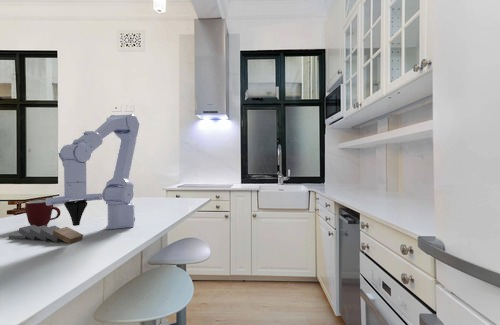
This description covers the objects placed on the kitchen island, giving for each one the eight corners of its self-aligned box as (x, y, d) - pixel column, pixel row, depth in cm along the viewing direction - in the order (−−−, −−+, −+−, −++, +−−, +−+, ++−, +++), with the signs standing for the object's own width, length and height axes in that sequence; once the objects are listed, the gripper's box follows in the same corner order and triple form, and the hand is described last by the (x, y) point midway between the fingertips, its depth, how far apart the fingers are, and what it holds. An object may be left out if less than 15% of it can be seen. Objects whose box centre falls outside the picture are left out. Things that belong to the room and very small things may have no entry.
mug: (61, 222, 103) (61, 198, 102) (59, 227, 96) (59, 201, 96) (28, 226, 97) (27, 201, 97) (23, 231, 90) (22, 204, 90)
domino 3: (60, 233, 82) (44, 225, 84) (46, 237, 78) (30, 228, 80) (58, 237, 83) (43, 229, 84) (45, 241, 78) (29, 233, 80)
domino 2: (48, 232, 84) (34, 224, 85) (34, 235, 80) (19, 228, 81) (47, 236, 84) (33, 229, 86) (33, 240, 80) (18, 232, 81)
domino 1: (39, 232, 85) (23, 231, 86) (24, 236, 80) (8, 235, 82) (39, 237, 85) (23, 236, 86) (24, 241, 80) (8, 240, 82)
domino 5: (83, 234, 80) (66, 226, 82) (70, 239, 76) (53, 230, 78) (82, 239, 80) (65, 231, 82) (69, 243, 76) (52, 235, 78)
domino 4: (70, 234, 81) (54, 225, 83) (57, 238, 77) (41, 229, 79) (69, 238, 82) (53, 229, 83) (56, 242, 77) (39, 233, 79)
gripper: (97, 180, 86) (97, 219, 86) (43, 183, 75) (44, 227, 76) (104, 181, 81) (104, 222, 82) (48, 184, 71) (48, 231, 71)
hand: (76, 225), depth 78 cm, fingers closed
